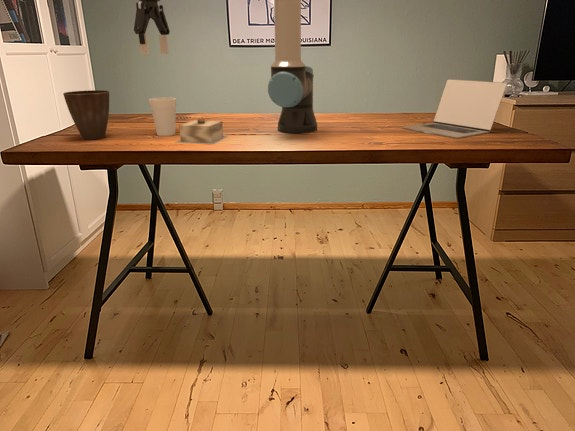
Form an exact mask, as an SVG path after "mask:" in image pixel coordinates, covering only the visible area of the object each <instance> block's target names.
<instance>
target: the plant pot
mask: <svg viewBox="0 0 575 431" xmlns="http://www.w3.org/2000/svg"><path fill="white" fill-rule="evenodd" d="M63 97H64V101H65V103H66V106H67V109H68V112H69V114H70V117H71V119H72V121H73V123H74V125H75V128H76V129H77V131H78V133H79V134H80V135H81V138H82V140H83V139H84V140H97V139H103V138H105V137H106V133H107V130H108V129H107V128H108V122H109V114H110V91H109V90H103V89H102V90H99V89H98V90H97V89H96V90H95V89H93V90H75V91H73V90H72V91H65V92H63Z"/></svg>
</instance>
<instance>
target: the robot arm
mask: <svg viewBox="0 0 575 431" xmlns="http://www.w3.org/2000/svg"><path fill="white" fill-rule="evenodd" d="M138 1H139V2H136V3H135V6H136V11H135V17H134V18H135V20H134V25H133V26H134V27H133V32H134V34H136V35H138V42H139V47H140V54H141V55H142V56H143V55H144V56H145V55H147V56H148V55H150V48H149V40H148V39H149V38H148V34H147V33H146V32H147V28H148V25H149V22H150V20H153V22H154V24H155V26H156V29H158V31H159V35H158V39H159V49H160V54H161V55H163V54H165V55H166V54H169V48H168V47H169V46H168V37H167V36H168V35H170V33H171V31H170V28H169V27H170V26H169V25H168V21H167V19H166V15H165V11H164V6H163V4H158V2H160V1H161V0H138ZM273 2H274V3H273V5H274V8H273V9H274V15H273V16H274V56H275V57H274V61H273V62H272V64H271V65H270V79H269V81H268V84H267V93H268V96H269V98H270V100H271V102H273V104H275V105H276V106H279V107H280V108H281V112H280V115H279V118H278V122H277V131H279V132H281V133H285V134H286V133H288V134H306V133H312V132H316V131H317V130H318V121H317V119H316V115H315V112H314V70H313V67H311V66H306V64H305V63H304V62H303V60H302V40H301V39H302V30H301V29H302V9H301V8H302V5H301V4H302V0H273Z"/></svg>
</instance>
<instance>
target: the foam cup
mask: <svg viewBox="0 0 575 431" xmlns="http://www.w3.org/2000/svg"><path fill="white" fill-rule="evenodd" d="M148 103H149V107H150V110H151V111H150V112H151V114H152V118H153V123H154V126H155V127H154V128H155V131H156V134H157V136H158V137H171V136H175V134H176V118H177V117H176V116H177V114H176V113H177V98H176V97H169V96H168V97H165V96H164V97H153V98H152V97H151V98H149V99H148Z"/></svg>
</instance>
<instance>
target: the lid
mask: <svg viewBox="0 0 575 431" xmlns="http://www.w3.org/2000/svg"><path fill="white" fill-rule="evenodd" d="M178 126H179V137H180V139H179V140H181V142H200V143H212V142H214V141H216V140H218V139H220V138H222V137H223V136H224V128H223V121H222V120H205V119H203V118H199V119H198V118H197V119H195V120H194V119H193V120H190V121H188V122H184V123H182V124H179V125H178Z"/></svg>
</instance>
